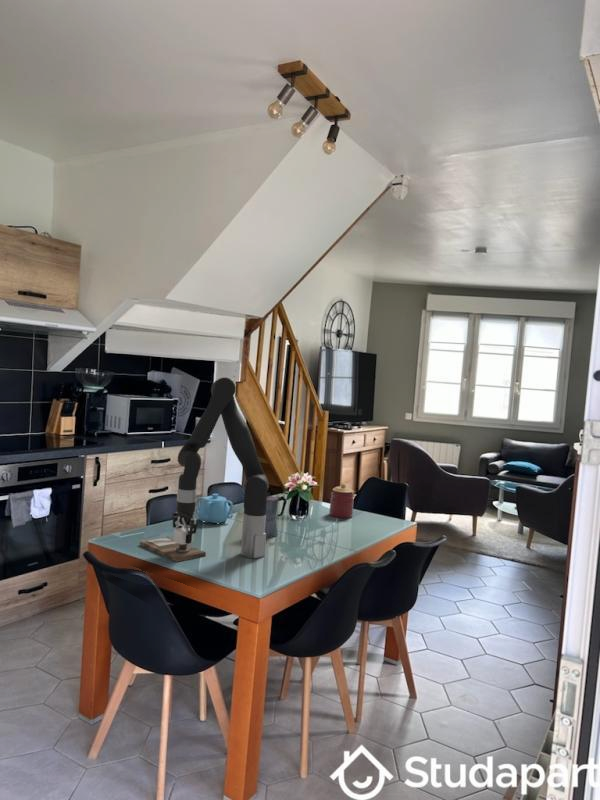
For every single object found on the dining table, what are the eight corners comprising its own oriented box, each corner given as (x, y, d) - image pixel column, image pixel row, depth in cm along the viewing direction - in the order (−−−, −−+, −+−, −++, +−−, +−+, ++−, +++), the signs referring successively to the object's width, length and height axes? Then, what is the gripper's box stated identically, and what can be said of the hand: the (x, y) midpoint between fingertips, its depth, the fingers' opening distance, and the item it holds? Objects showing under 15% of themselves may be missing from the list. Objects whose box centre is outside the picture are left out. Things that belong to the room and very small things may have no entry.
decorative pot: (193, 517, 304) (194, 490, 303) (223, 516, 310) (225, 490, 310) (201, 526, 289) (203, 498, 288) (234, 524, 296) (236, 497, 295)
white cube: (193, 542, 243) (194, 530, 243) (181, 544, 239) (182, 532, 239) (184, 539, 247) (185, 527, 247) (173, 541, 243) (174, 528, 243)
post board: (205, 555, 245) (207, 532, 244) (176, 562, 234) (178, 537, 234) (168, 539, 262) (169, 518, 262) (139, 545, 252) (141, 522, 252)
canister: (356, 518, 329) (358, 486, 328) (333, 518, 325) (336, 485, 324) (347, 512, 341) (350, 481, 340) (326, 512, 338) (328, 481, 337)
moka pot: (249, 532, 284) (252, 490, 283) (279, 531, 291) (282, 489, 290) (257, 538, 275) (260, 495, 274) (287, 536, 282) (291, 494, 281)
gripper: (204, 502, 240) (201, 544, 241) (183, 495, 250) (180, 535, 251) (189, 504, 235) (186, 547, 236) (167, 497, 245) (165, 538, 245)
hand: (183, 541), depth 243 cm, fingers open, 6 cm apart
